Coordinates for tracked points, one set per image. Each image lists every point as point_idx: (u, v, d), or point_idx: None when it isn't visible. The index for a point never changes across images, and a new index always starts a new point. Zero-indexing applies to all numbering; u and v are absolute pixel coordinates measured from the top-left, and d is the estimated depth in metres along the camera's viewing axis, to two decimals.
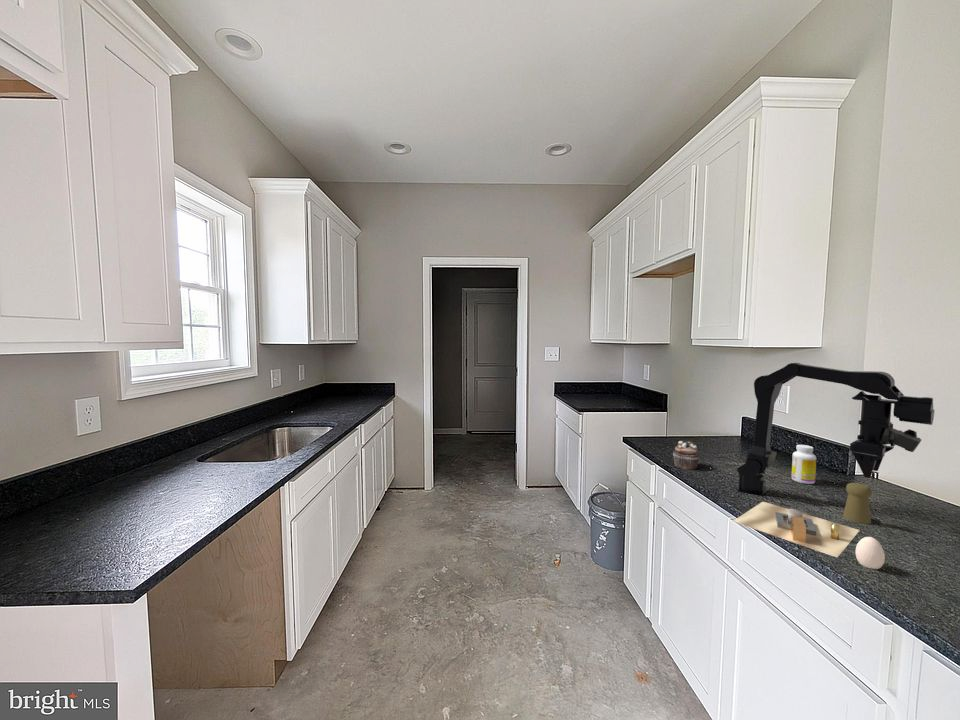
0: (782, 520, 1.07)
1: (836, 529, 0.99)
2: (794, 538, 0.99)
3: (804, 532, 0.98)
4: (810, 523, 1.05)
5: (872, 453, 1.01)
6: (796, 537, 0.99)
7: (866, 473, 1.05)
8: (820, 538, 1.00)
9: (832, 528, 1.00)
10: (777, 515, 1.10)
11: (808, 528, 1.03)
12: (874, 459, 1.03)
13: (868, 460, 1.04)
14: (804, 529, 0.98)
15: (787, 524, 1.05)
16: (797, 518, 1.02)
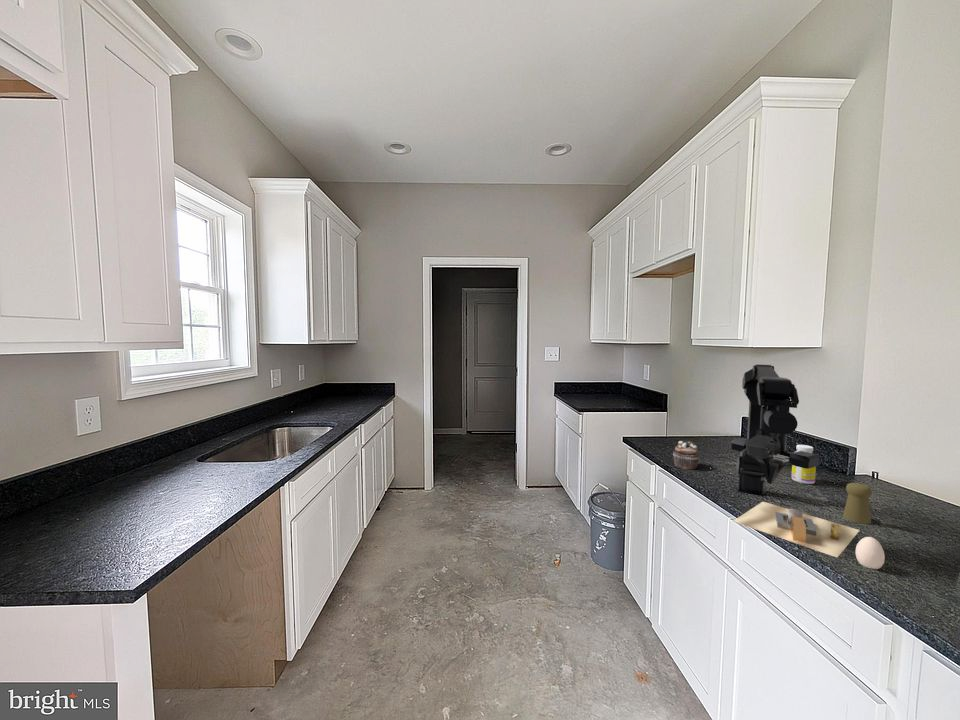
0: (782, 520, 1.07)
1: (836, 529, 0.99)
2: (794, 538, 0.99)
3: (804, 532, 0.98)
4: (810, 523, 1.05)
5: None
6: (796, 537, 0.99)
7: None
8: (820, 538, 1.00)
9: (832, 528, 1.00)
10: (777, 515, 1.10)
11: (808, 528, 1.03)
12: None
13: None
14: (804, 529, 0.98)
15: (787, 524, 1.05)
16: (797, 518, 1.02)
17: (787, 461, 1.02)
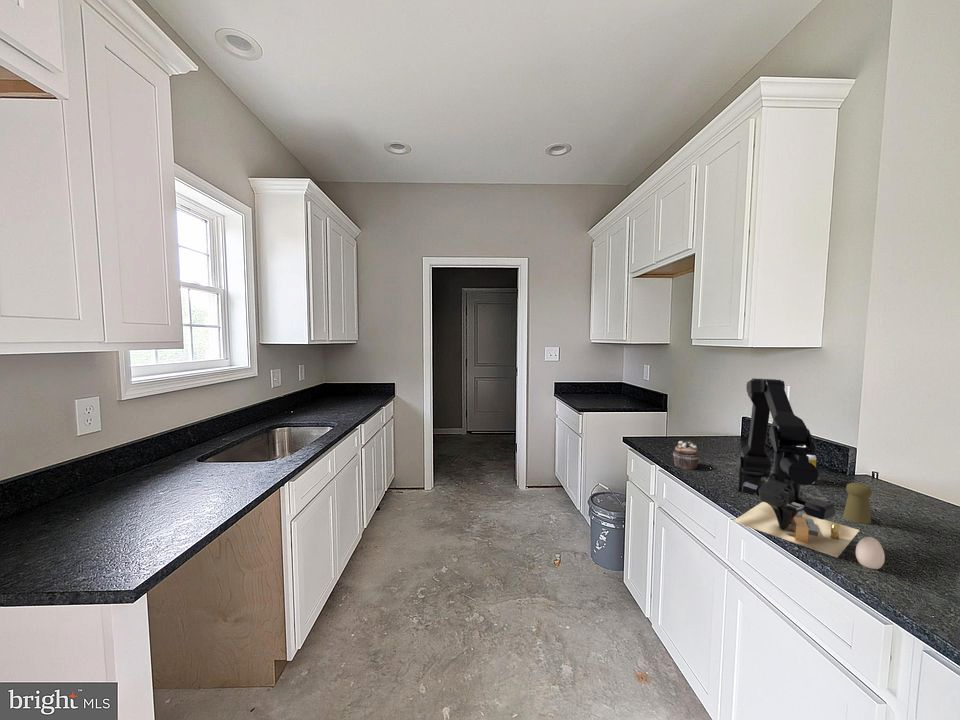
0: None
1: (836, 529, 0.99)
2: (796, 539, 0.99)
3: (806, 533, 0.97)
4: (811, 523, 1.05)
5: None
6: (798, 537, 0.98)
7: None
8: (820, 538, 1.00)
9: (832, 528, 1.00)
10: None
11: (810, 528, 1.02)
12: None
13: None
14: (807, 530, 0.97)
15: (789, 524, 1.05)
16: (799, 519, 1.02)
17: (801, 508, 0.99)
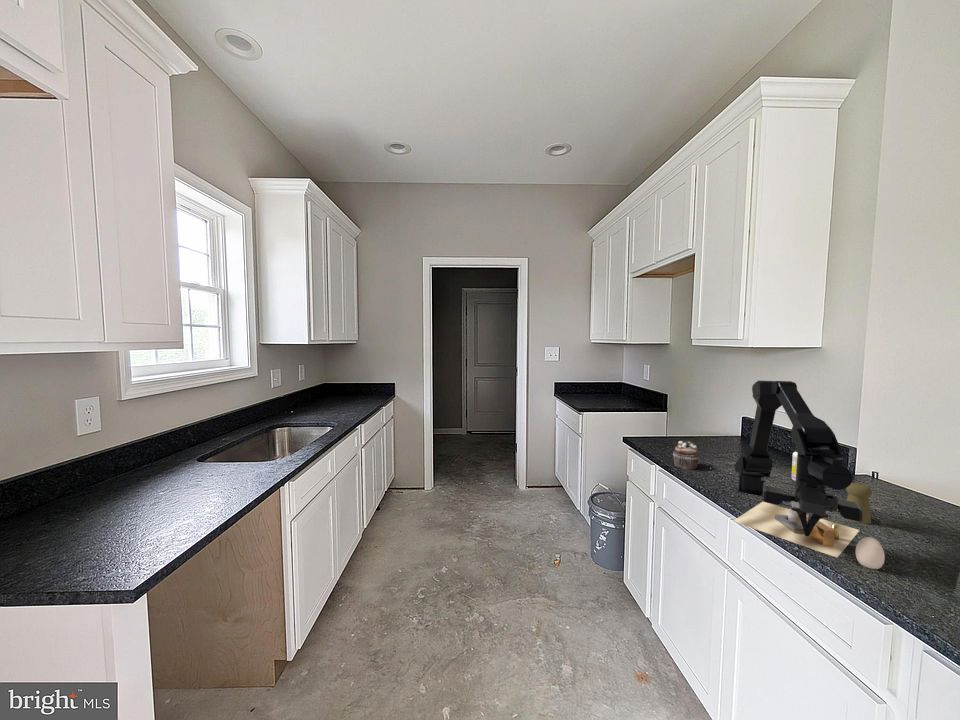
0: (792, 524, 1.05)
1: (836, 529, 0.99)
2: (824, 544, 0.96)
3: (833, 536, 0.96)
4: None
5: None
6: (826, 542, 0.96)
7: None
8: None
9: (832, 528, 1.00)
10: (781, 518, 1.08)
11: None
12: None
13: None
14: (833, 533, 0.96)
15: (801, 528, 1.03)
16: None
17: None
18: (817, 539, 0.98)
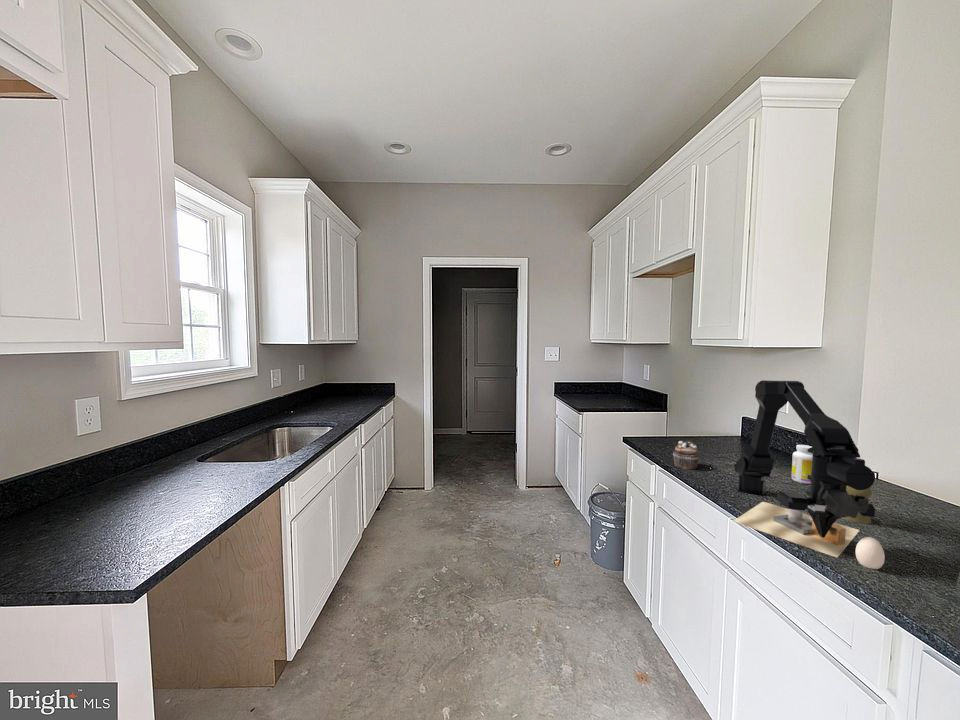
0: (796, 525, 1.04)
1: None
2: (838, 543, 0.97)
3: (844, 534, 0.97)
4: (806, 519, 1.08)
5: (785, 504, 0.98)
6: (839, 541, 0.97)
7: (819, 531, 0.98)
8: (820, 538, 1.00)
9: None
10: (783, 520, 1.07)
11: None
12: (818, 516, 0.97)
13: (818, 517, 0.98)
14: (844, 531, 0.97)
15: (807, 528, 1.03)
16: None
17: None
18: (829, 539, 0.98)
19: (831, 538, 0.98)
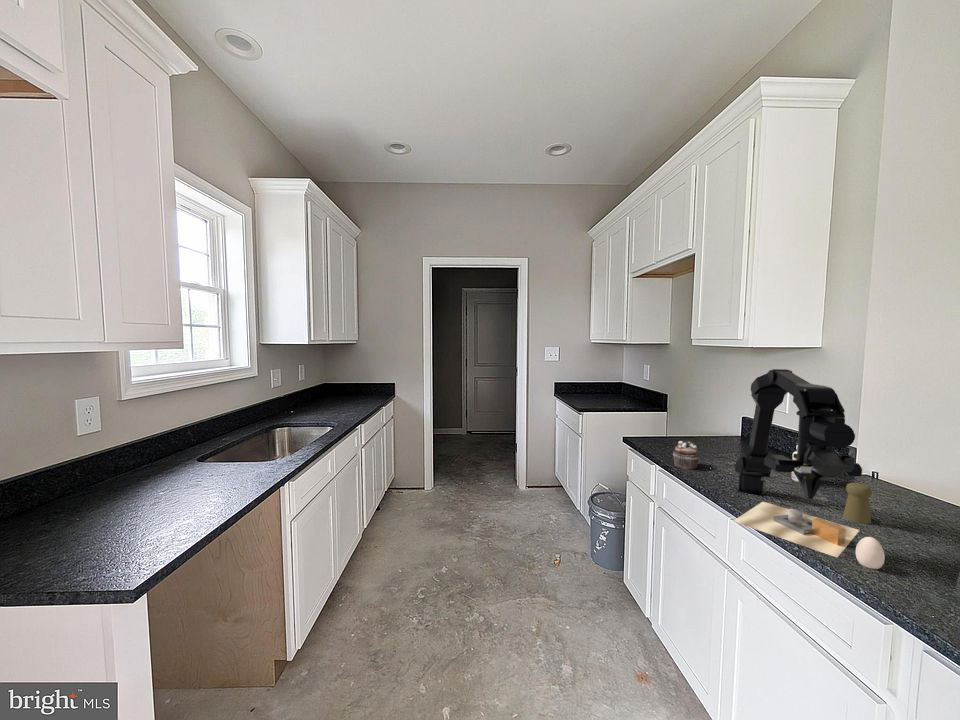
0: (796, 525, 1.04)
1: None
2: (838, 543, 0.97)
3: (844, 534, 0.97)
4: (806, 519, 1.08)
5: (772, 467, 0.98)
6: (839, 541, 0.97)
7: (805, 493, 0.98)
8: (820, 538, 1.00)
9: None
10: (783, 520, 1.07)
11: None
12: (804, 477, 0.97)
13: None
14: (844, 531, 0.97)
15: (807, 528, 1.03)
16: (821, 520, 1.01)
17: None
18: (829, 539, 0.98)
19: (831, 538, 0.98)
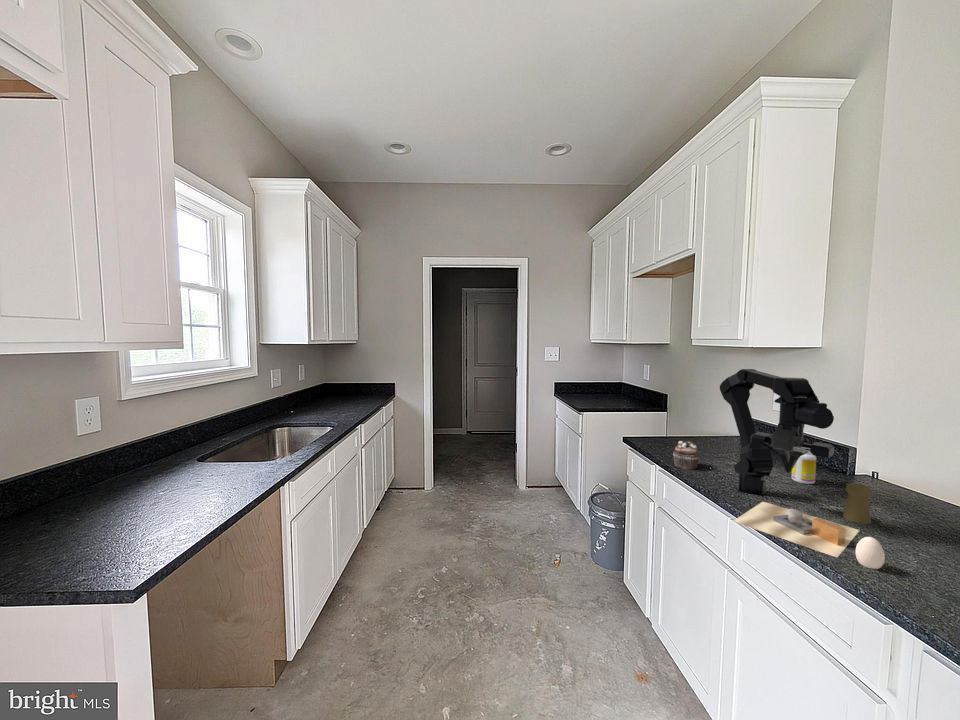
0: (796, 525, 1.04)
1: None
2: (838, 543, 0.97)
3: (844, 534, 0.97)
4: (806, 519, 1.08)
5: None
6: (839, 541, 0.97)
7: None
8: (820, 538, 1.00)
9: None
10: (783, 520, 1.07)
11: None
12: None
13: None
14: (844, 531, 0.97)
15: (807, 528, 1.03)
16: (821, 520, 1.01)
17: (805, 452, 1.13)
18: (829, 539, 0.98)
19: (831, 538, 0.98)
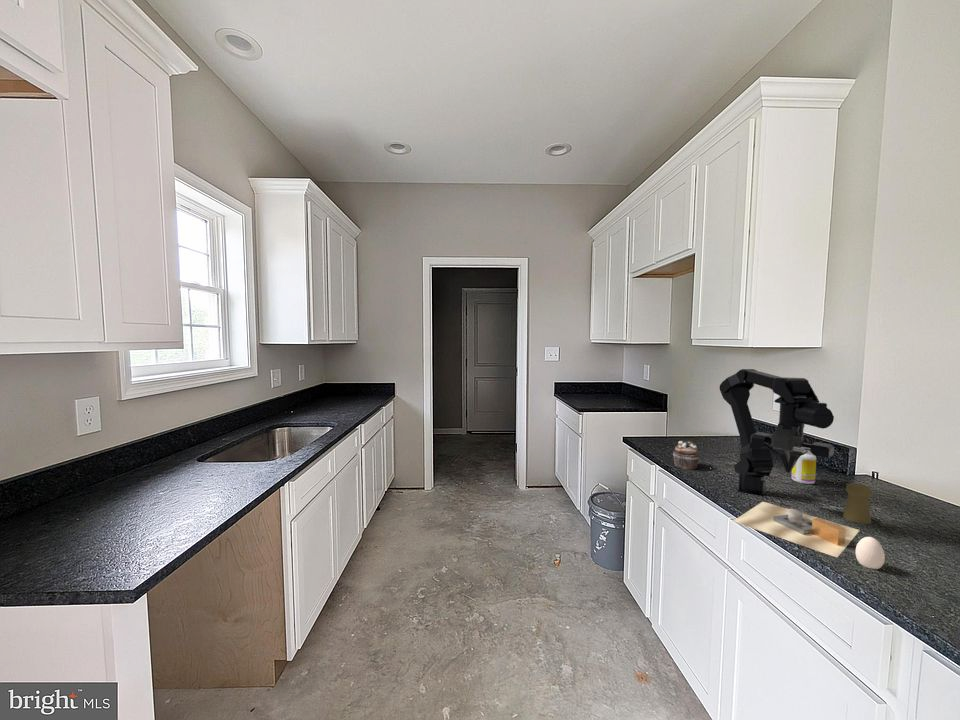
0: (796, 525, 1.04)
1: None
2: (838, 543, 0.97)
3: (844, 534, 0.97)
4: (806, 519, 1.08)
5: None
6: (839, 541, 0.97)
7: None
8: (820, 538, 1.00)
9: None
10: (783, 520, 1.07)
11: None
12: None
13: None
14: (844, 531, 0.97)
15: (807, 528, 1.03)
16: (821, 520, 1.01)
17: (805, 451, 1.13)
18: (829, 539, 0.98)
19: (831, 538, 0.98)
